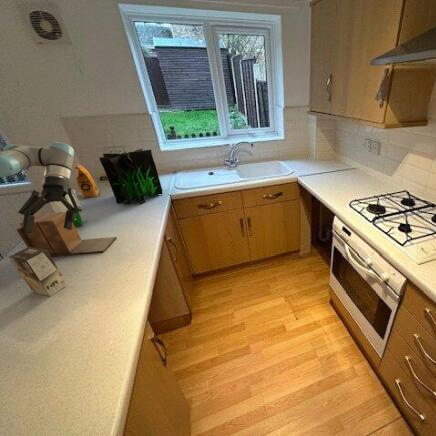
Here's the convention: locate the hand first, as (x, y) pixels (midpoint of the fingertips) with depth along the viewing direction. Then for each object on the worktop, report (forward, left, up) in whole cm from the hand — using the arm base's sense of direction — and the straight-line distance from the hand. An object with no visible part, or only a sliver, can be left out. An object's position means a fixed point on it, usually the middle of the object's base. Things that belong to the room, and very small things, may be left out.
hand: (47, 230), depth 89 cm
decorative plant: (-10, +80, -19) cm, 83 cm away
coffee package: (-48, +86, -19) cm, 101 cm away
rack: (-8, +16, -19) cm, 26 cm away
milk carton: (-27, +40, -19) cm, 52 cm away
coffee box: (+1, -11, -19) cm, 22 cm away
